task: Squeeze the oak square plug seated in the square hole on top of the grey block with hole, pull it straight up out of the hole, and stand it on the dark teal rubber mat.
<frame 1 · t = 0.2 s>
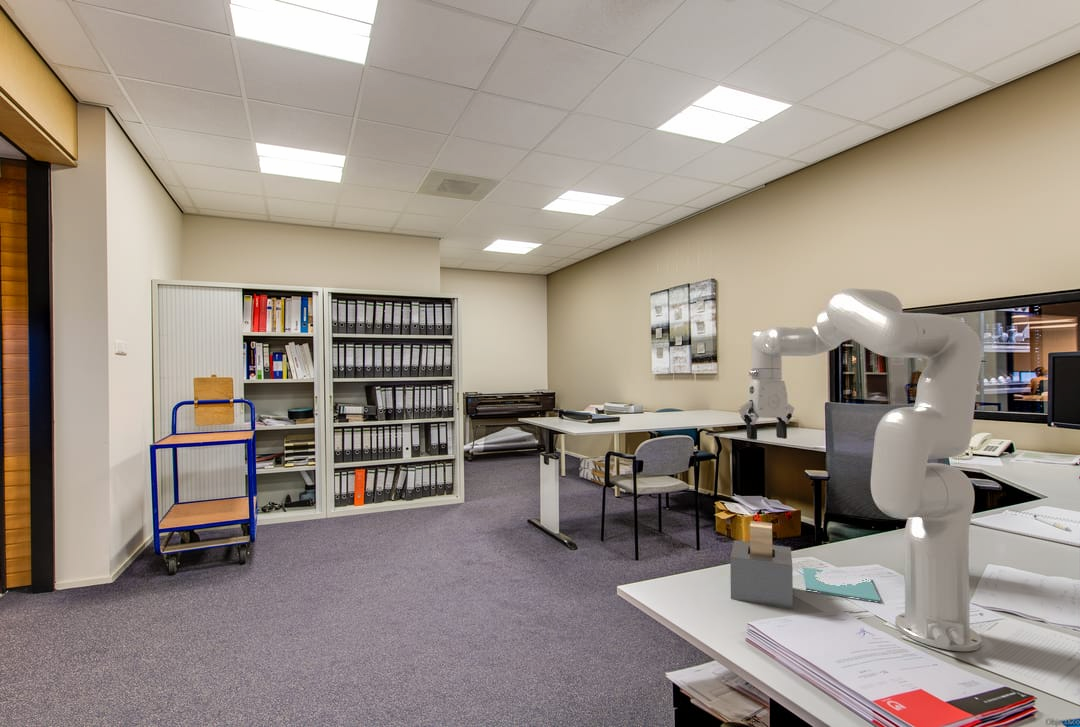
hand: (766, 438, 138), 31 cm above the table, tool pointing down, fingers open, 9 cm apart
teal mat: (838, 585, 117), on the table
grey block with hole: (761, 592, 113), on the table
oak plug: (761, 574, 113), point 4 cm above the table, touching grey block with hole
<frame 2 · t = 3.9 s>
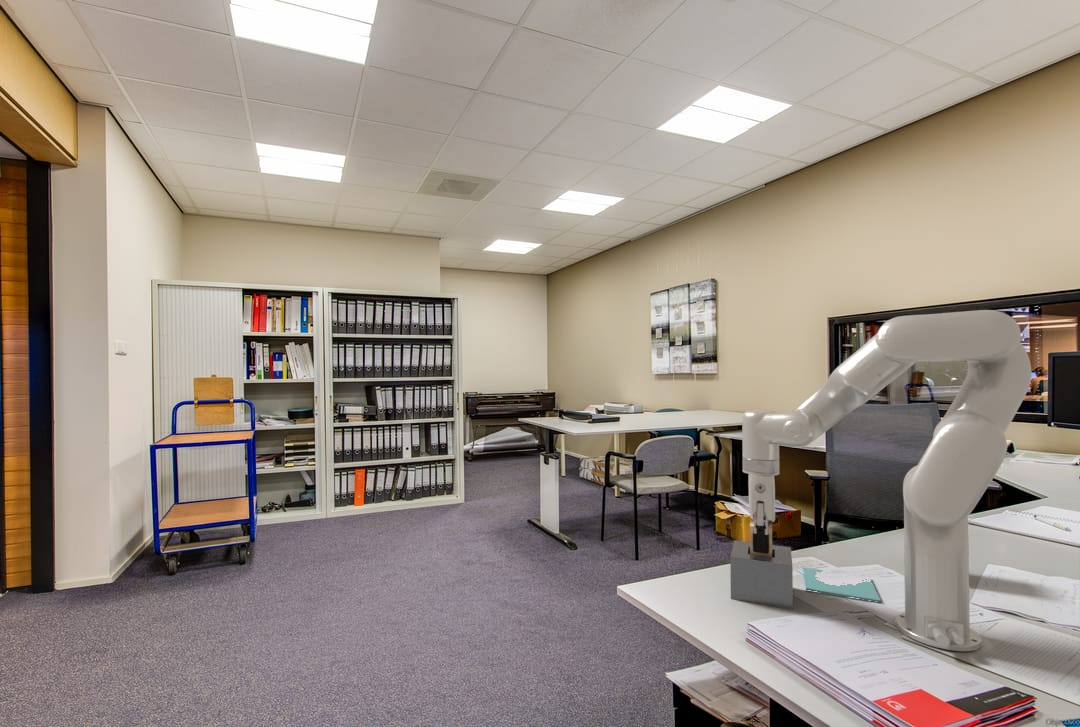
hand: (761, 547, 113), 10 cm above the table, tool pointing down, fingers closed on oak plug, 4 cm apart
oak plug: (761, 574, 113), point 4 cm above the table, touching gripper, grey block with hole
everything else where it was.
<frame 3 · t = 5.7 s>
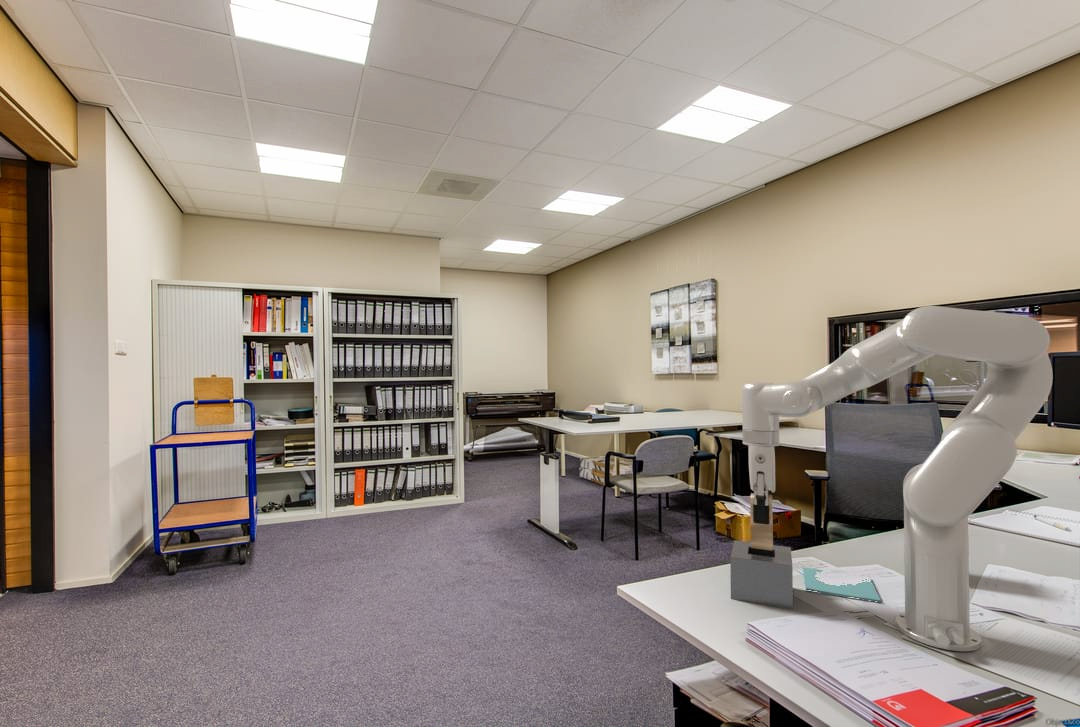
hand: (761, 519, 113), 16 cm above the table, tool pointing down, fingers closed on oak plug, 4 cm apart
oak plug: (762, 546, 113), point 10 cm above the table, touching gripper
everything else where it was.
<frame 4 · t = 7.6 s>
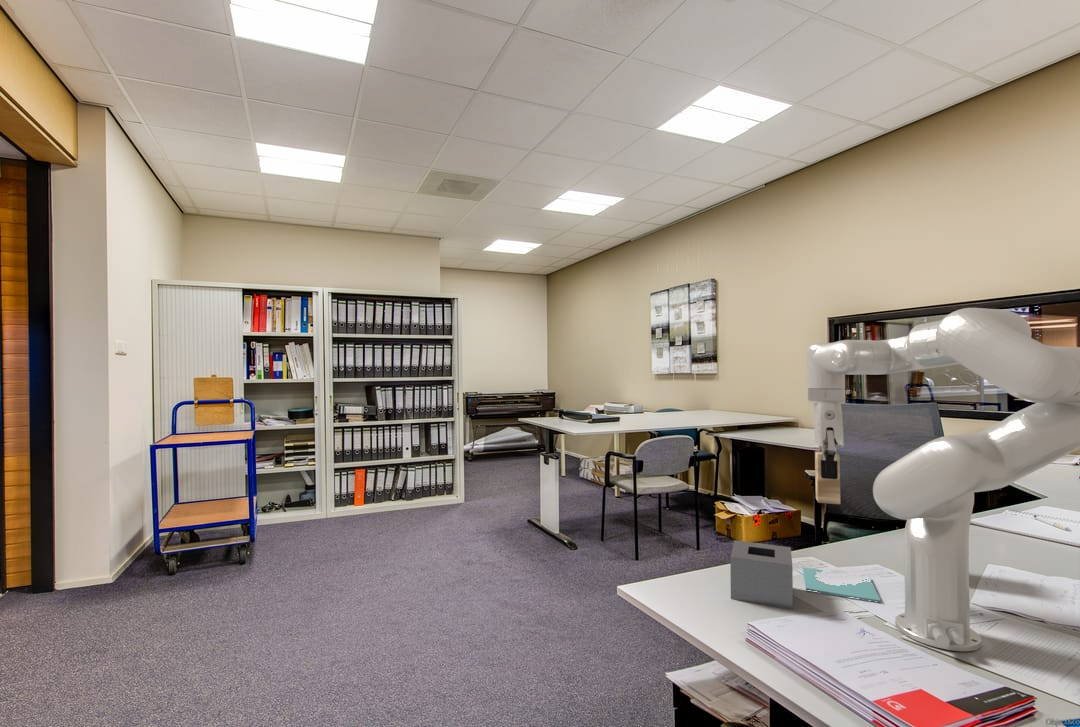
hand: (827, 475, 117), 25 cm above the table, tool pointing down, fingers closed on oak plug, 4 cm apart
oak plug: (827, 501, 117), point 19 cm above the table, touching gripper
everything else where it was.
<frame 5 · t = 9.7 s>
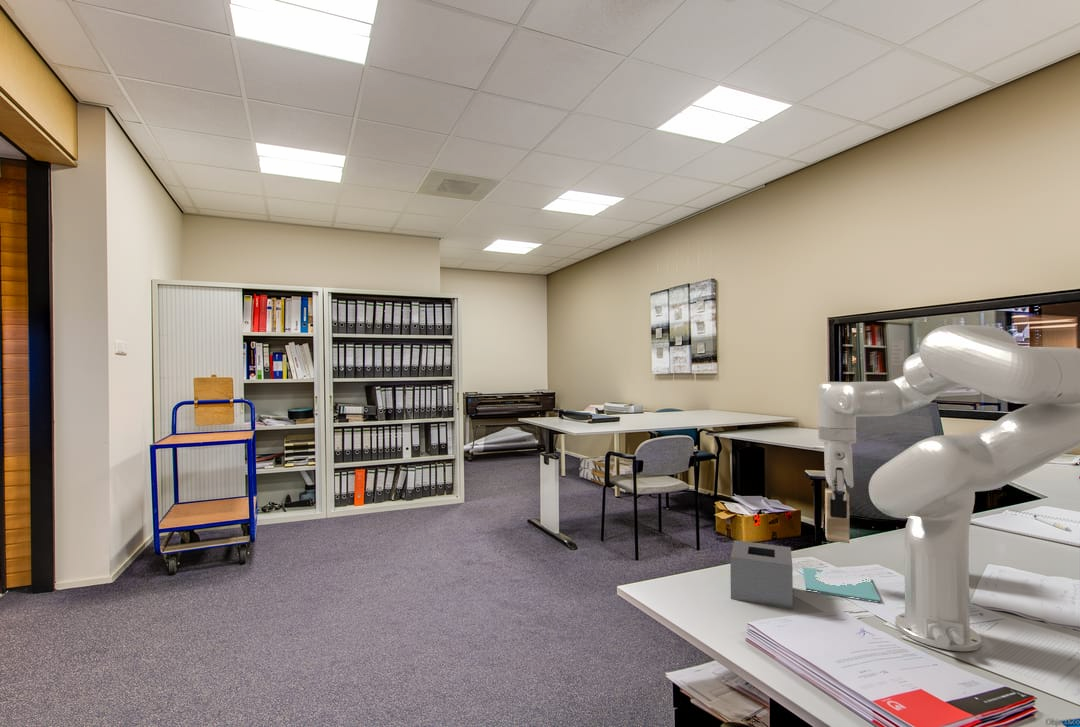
hand: (837, 513, 118), 16 cm above the table, tool pointing down, fingers closed on oak plug, 4 cm apart
oak plug: (837, 539, 118), point 10 cm above the table, touching gripper
everything else where it was.
when the fingers open (8 cm above the table, at t = 11.6 s): oak plug drops 1 cm, resting on teal mat.
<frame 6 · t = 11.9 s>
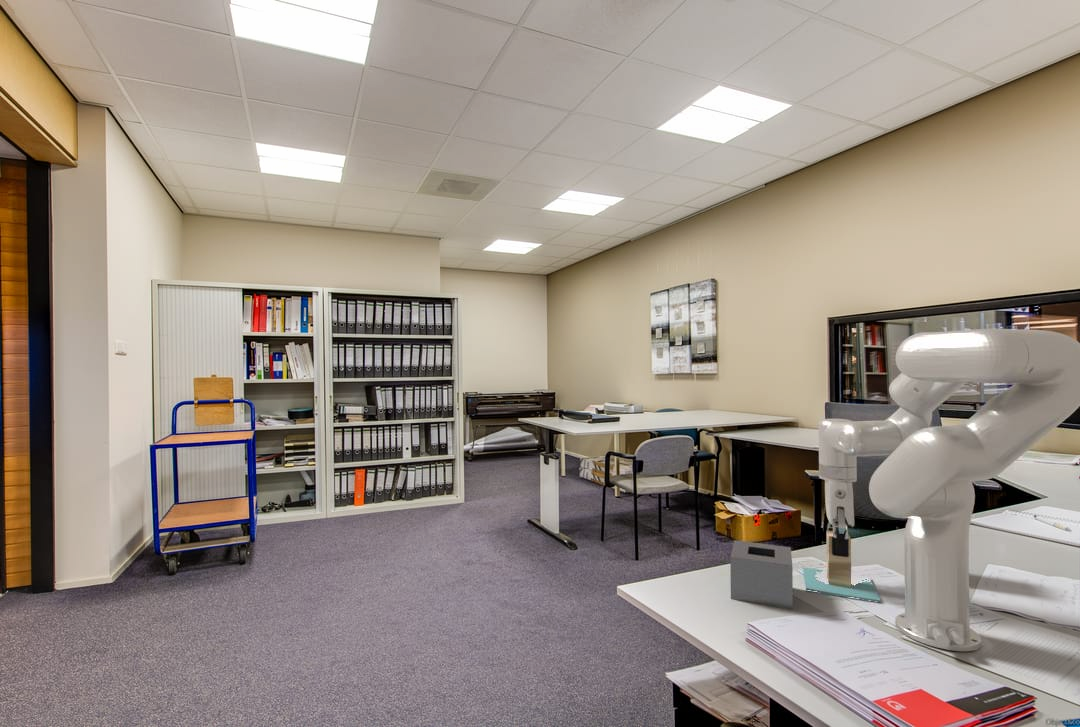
hand: (838, 550, 117), 8 cm above the table, tool pointing down, fingers open, 6 cm apart
oak plug: (838, 582, 117), point 1 cm above the table, touching teal mat
everything else where it was.
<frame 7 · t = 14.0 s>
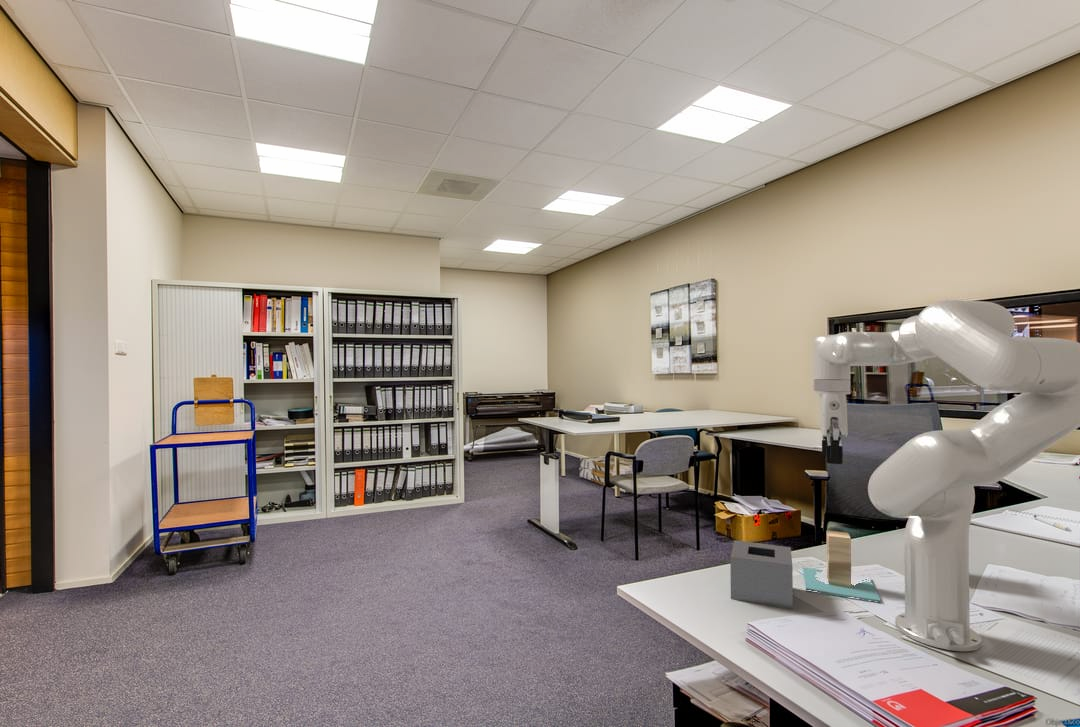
hand: (831, 460, 120), 28 cm above the table, tool pointing down, fingers open, 9 cm apart
nothing on the table moved.
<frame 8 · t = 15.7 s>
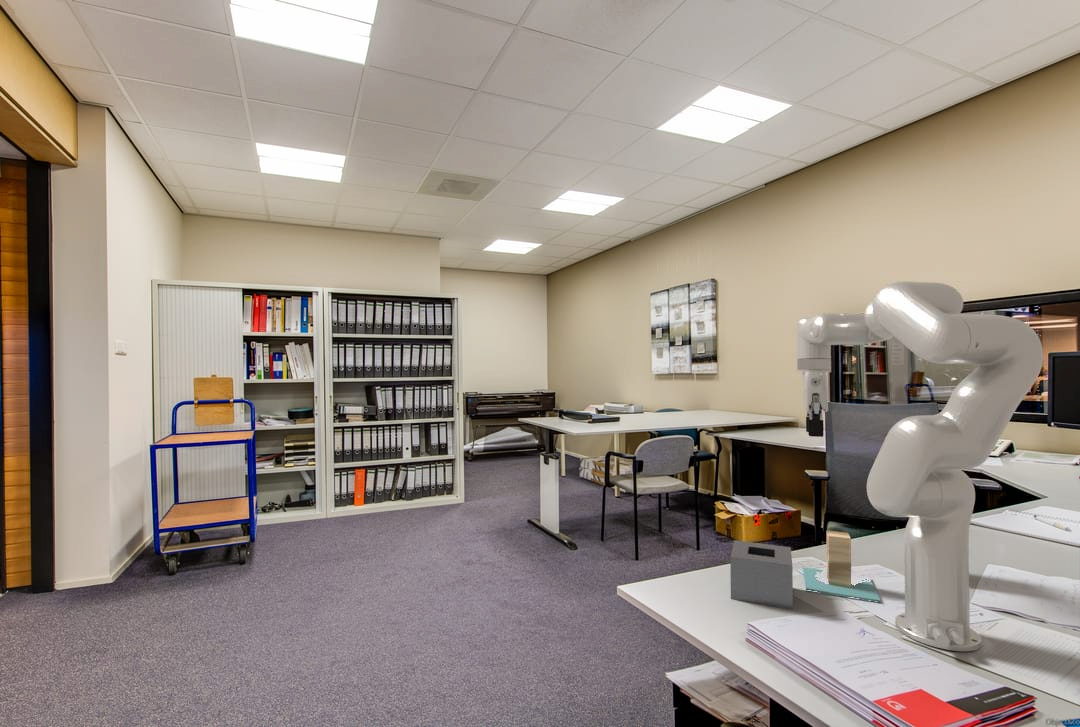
hand: (814, 434, 128), 33 cm above the table, tool pointing down, fingers open, 9 cm apart
nothing on the table moved.
at the end: oak plug inside the target area on the teal mat (0.0 cm from its centre), point 0.6 cm above the teal mat's base; oak plug tilted 0°; the gripper is holding nothing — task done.
